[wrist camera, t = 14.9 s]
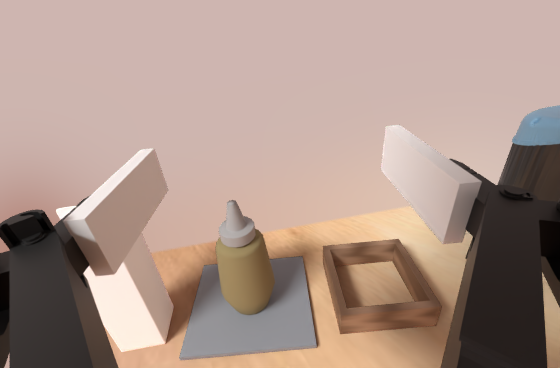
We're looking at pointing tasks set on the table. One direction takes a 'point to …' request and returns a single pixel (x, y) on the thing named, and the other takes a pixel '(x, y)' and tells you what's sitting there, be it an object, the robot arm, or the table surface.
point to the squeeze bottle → (243, 263)
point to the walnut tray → (380, 315)
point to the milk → (132, 299)
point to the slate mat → (251, 317)
